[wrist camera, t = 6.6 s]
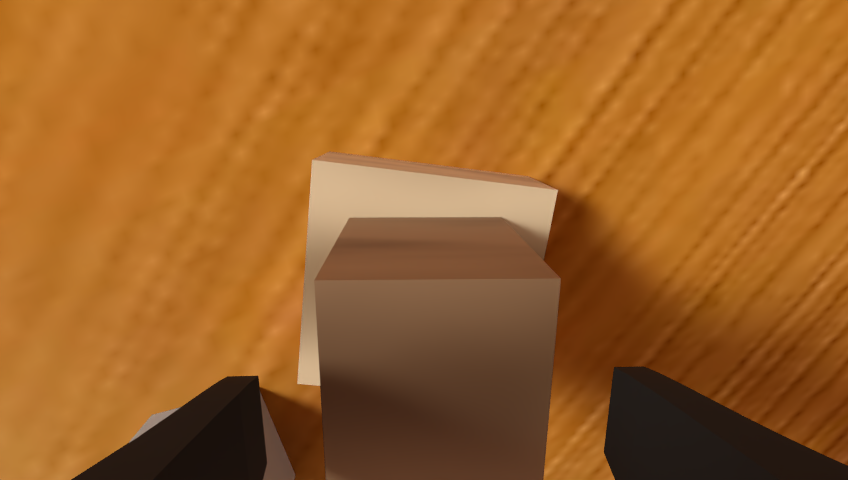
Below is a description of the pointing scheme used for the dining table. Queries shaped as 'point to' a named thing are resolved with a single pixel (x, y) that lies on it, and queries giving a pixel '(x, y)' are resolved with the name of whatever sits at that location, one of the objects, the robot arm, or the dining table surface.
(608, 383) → the dining table surface
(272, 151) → the dining table surface
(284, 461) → the slate block
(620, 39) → the dining table surface
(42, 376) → the dining table surface
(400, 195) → the base block
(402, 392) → the walnut block
